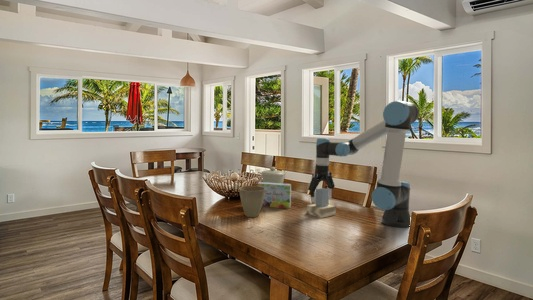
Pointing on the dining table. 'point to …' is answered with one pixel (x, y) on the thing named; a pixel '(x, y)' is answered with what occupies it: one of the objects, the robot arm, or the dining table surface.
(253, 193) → the plant pot
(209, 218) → the dining table surface
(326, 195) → the slate-blue block
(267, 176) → the canister
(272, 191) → the snack box
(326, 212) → the maple riser
